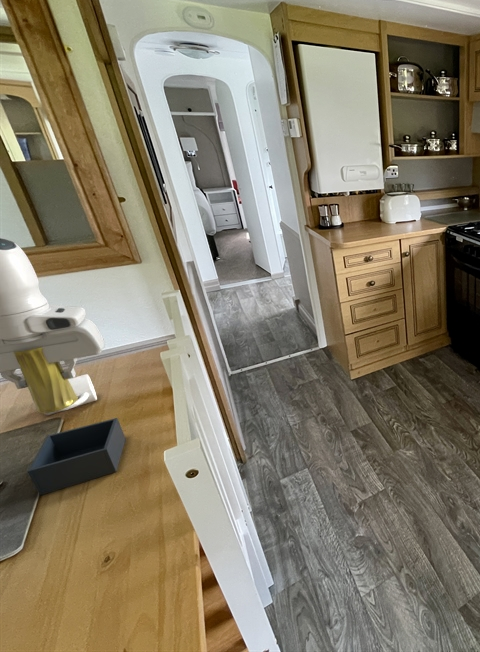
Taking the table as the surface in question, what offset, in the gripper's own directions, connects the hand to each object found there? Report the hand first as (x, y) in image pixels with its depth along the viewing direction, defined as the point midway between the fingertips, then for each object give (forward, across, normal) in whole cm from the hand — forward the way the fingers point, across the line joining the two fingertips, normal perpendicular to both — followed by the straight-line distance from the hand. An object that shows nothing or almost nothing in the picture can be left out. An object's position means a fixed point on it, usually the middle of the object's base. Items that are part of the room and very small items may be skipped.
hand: (48, 381), depth 78 cm
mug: (+23, -8, +28) cm, 37 cm away
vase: (+6, 0, 0) cm, 6 cm away
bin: (+22, 0, 0) cm, 23 cm away
